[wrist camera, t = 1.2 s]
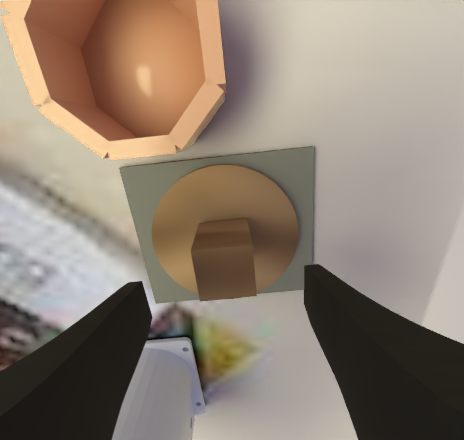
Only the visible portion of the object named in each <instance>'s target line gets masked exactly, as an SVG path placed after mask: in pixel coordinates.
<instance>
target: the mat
mask: <svg viewBox="0 0 464 440" xmlns="http://www.w3.org/2000/svg"><path fill="white" fill-rule="evenodd" d="M314 150H315V147H313V146H311V147H302V148H292V149H283V150H274V151H265V152H256V153H246V154H237V155H228V156H219V157H210V158H200V159H191V160H182V161H173V162H164V163H154V164H145V165H136V166H127V167H121V168H119V169H120V173H121V177H122V180H123V184H124V188H125V191H126V195H127V199H128V202H129V206H130V210H131V214H132V217H133V221H134V225H135V228H136V232H137V236H138V239H139V243H140V247H141V250H142V254H143V258H144V262H145V265H146V269H147V273H148V276H149V280H150V284H151V287H152V291H153V295H154V298H155V302H156V303H167V302H177V301H188V300H198V299H199V294H196V293H194V292H191V291H189V290H188V289H186V288H184V287H182V286H181V285H180V284H178V283H177V282H176V281H174V280H173V279H172V278H171V277H170V276H169V275H168V273H167V272H166V271H165V270H164V268H163V267H162V265H161V264H160V262H159V260H158V258H157V256H156V253H155V250H154V247H153V242H152V223H153V218H154V214H155V211H156V209H157V206H158V204H159V202H160V201H161V199H162V198H163V196H164V195H165V193H166V192H167V191H168V190H169V189H170V188H171V187H172V185H173V184H175V183H176V182H177V181H178V180H179V179H180V178H182V177H183V176H185V175H186V174H188V173H190V172H192V171H194V170H196V169H199V168H202V167H205V166H209V165H215V164H235V165H241V166H245V167H249V168H251V169H254V170H256V171H258V172H260V173H262V174H264V175H266V176H267V177H268V178H270V179H271V180H272V181H273V182H274V183H276V184H277V185H278V186H279V187H280V189H281V190H282V191H283V192H284V193H285V195H286V196H287V197H288V199H289V201H290V202H291V204H292V206H293V209H294V211H295V214H296V217H297V222H298V243H297V248H296V251H295V254H294V257H293V259H292V261H291V262H290V264H289V266H288V267H287V269H286V270H285V272H284V273H283V274H282V275H281V276H280V277H279V278H278V279H277V280H276V281H275V282H273V283H272V284H271V285H269V286H268V287H266V288H265V289H263V290H261V291H259V292H257V294H261V293H271V292H281V291H292V290H302V289H304V265H312V249H313V199H314Z"/></svg>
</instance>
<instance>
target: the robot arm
mask: <svg viewBox="0 0 464 440" xmlns="http://www.w3.org/2000/svg"><path fill="white" fill-rule="evenodd" d="M304 305H305V308H306V311H307V314H308V317H309V320H310V323H311V326H312V328H313V330H314V332H315V335H316V337H317V339H318V341H319V343H320V345H321V348H322V350H323V352H324V354H325V356H326V358H327V360H328V362H329V365H330V367H331V369H332V371H333V373H334V375H335V378H336V380H337V382H338V385H339V387H340V389H341V392H342V395H343V398H344V400H345V403H346V406H347V409H348V411H349V414H350V417H351V420H352V423H353V425H354V428H355V431H356V434H357V437H358V440H464V344H462V343H460V342H457V341H454V340H452V339H450V338H447V337H445V336H442V335H440V334H438V333H436V332H434V331H431V330H429V329H426V328H425V327H422V326H420V325H418V324H416V323H414V322H412V321H410V320H408V319H406V318H404V317H402V316H400V315H398V314H396V313H394V312H392V311H390V310H389V309H387V308H385V307H383V306H381V305H380V304H378V303H376V302H375V301H373V300H371V299H370V298H368V297H366V296H365V295H363V294H362V293H360V292H358V291H357V290H355V289H354V288H352V287H351V286H349V285H348V284H346V283H345V282H343V281H342V280H341V279H339V278H338V277H336V276H335V275H333V274H332V273H331V272H329V271H328V270H326V269H325V268H323V267H322V266H320V265H319V264H315V265H304ZM151 321H152V315H151V311H150V308H149V304H148V301H147V297H146V294H145V290H144V287H143V283H142V281H139V282H129V283H127V284H126V285H124V286H123V287H121V288H120V289H119V290H117V291H116V292H115V293H114V294H112V295H111V296H110V297H109V298H107V299H106V300H105V301H104V302H102V303H101V304H100V305H98V306H97V307H96V308H95V309H93V310H92V311H91V312H90V313H88V314H87V315H86V316H84V317H83V318H82V319H80V320H79V321H78V322H76V323H75V324H73V325H72V326H71V327H69V328H68V329H67V330H65V331H64V332H63V333H61V334H60V335H58V336H57V337H55V338H54V339H53V340H51V341H50V342H48V343H47V344H45V345H43V346H42V347H40V348H39V349H37V350H36V351H34V352H33V353H31V354H29V355H28V356H26V357H24V358H23V359H21V360H19V361H18V362H16V363H14V364H12V365H11V366H9V367H7V368H5V369H4V370H2V371H0V440H192V434H193V426H194V417H195V414H203V413H204V412H205V402H204V398H203V393H202V388H201V384H200V379H199V375H198V370H197V366H196V361H195V357H194V352H193V348H192V343H191V340H190V339H189V338H187V337H181V338H170V339H159V340H148V341H146V340H147V337H148V333H149V329H150V325H151ZM185 347H187V348H185Z"/></svg>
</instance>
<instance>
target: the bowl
mask: <svg viewBox="0 0 464 440" xmlns="http://www.w3.org/2000/svg"><path fill="white" fill-rule="evenodd" d="M0 7H2V8H3V9H4V10H6V11H7V12H8V13H9V14H10V15H2V16H1V18H2V21H3V24H4V27H5V29H6V32H7V35H8V38H9V40H10V43H11V46H12V49H13V51H14V54H15V57H16V60H17V62H18V65H19V68H20V70H21V73H22V76H23V79H24V81H25V84H26V87H27V90H28V92H29V95H30V98H31V101H32V103H33V105H34V106H41V108H40V110H39V113H40V114H42V115H43V116H44V117H46V118H47V119H49V120H50V121H52V122H53V123H54V124H56V125H57V126H59V127H60V128H61V129H63V130H64V131H66V132H67V133H68V134H70V135H71V136H73V137H74V138H75V139H77V140H78V141H80V142H81V143H82V144H84V145H85V146H87V147H88V148H89V149H91V150H92V151H94V152H95V153H96V154H98V155H99V156H101V157H102V158H103V159H104V158H108V157H109V158H110V160H119V159H128V158H137V157H146V156H155V155H165V154H174V153H178V152H180V151H182V150H184V149H186V148H188V147H189V146H191V145H193V144H194V142H195V141H196V140H197V138H198V137H199V136H200V134H201V133H202V131H203V130H204V129H205V128H206V127H207V125H208V124H209V123H210V121H211V120H212V118H213V117H214V115H215V113H216V112H217V111H218V109H219V108H220V106H221V105H222V104H223V102H224V101H225V97H224V95H226V80H225V70H224V60H223V50H222V39H221V29H220V19H219V9H218V0H2V3H1V5H0Z"/></svg>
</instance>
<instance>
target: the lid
mask: <svg viewBox="0 0 464 440" xmlns="http://www.w3.org/2000/svg"><path fill="white" fill-rule="evenodd" d="M152 242H153V247H154V250H155V253H156V256H157V258H158V260H159V262H160V264H161V265H162V267H163V268H164V270H165V271H166V272H167V273H168V275H169V276H170V277H171V278H172V279H173V280H174V281H176V282H177V283H178V284H180V285H181V286H182V287H184V288H186V289H188V290H189V291H191V292H194V293H196V294H199V299H200V301H208V300H219V299H234V298H241V297H250V296H257V292H259V291H261V290H263V289H265V288H266V287H268V286H269V285H271V284H272V283H273V282H275V281H276V280H277V279H278V278H279V277H280V276H281V275H282V274H283V273H284V272H285V270H286V269H287V267H288V266H289V264H290V262H291V261H292V259H293V257H294V254H295V251H296V248H297V243H298V222H297V217H296V214H295V211H294V209H293V206H292V204H291V202H290V201H289V199H288V197H287V196H286V195H285V193H284V192H283V191H282V190H281V189H280V187H279V186H278V185H277V184H276V183H274V182H273V181H272V180H271V179H270V178H268V177H267V176H266V175H264V174H262V173H260V172H258V171H256V170H254V169H251V168H249V167H245V166H241V165H235V164H215V165H209V166H205V167H202V168H199V169H196V170H194V171H192V172H190V173H188V174H186V175H185V176H183V177H182V178H180V179H179V180H178V181H177V182H176V183H175V184H173V185H172V187H171V188H170V189H169V190H168V191H167V192H166V193H165V195H164V196H163V198H162V199H161V201H160V202H159V204H158V206H157V209H156V211H155V214H154V218H153V223H152Z"/></svg>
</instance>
